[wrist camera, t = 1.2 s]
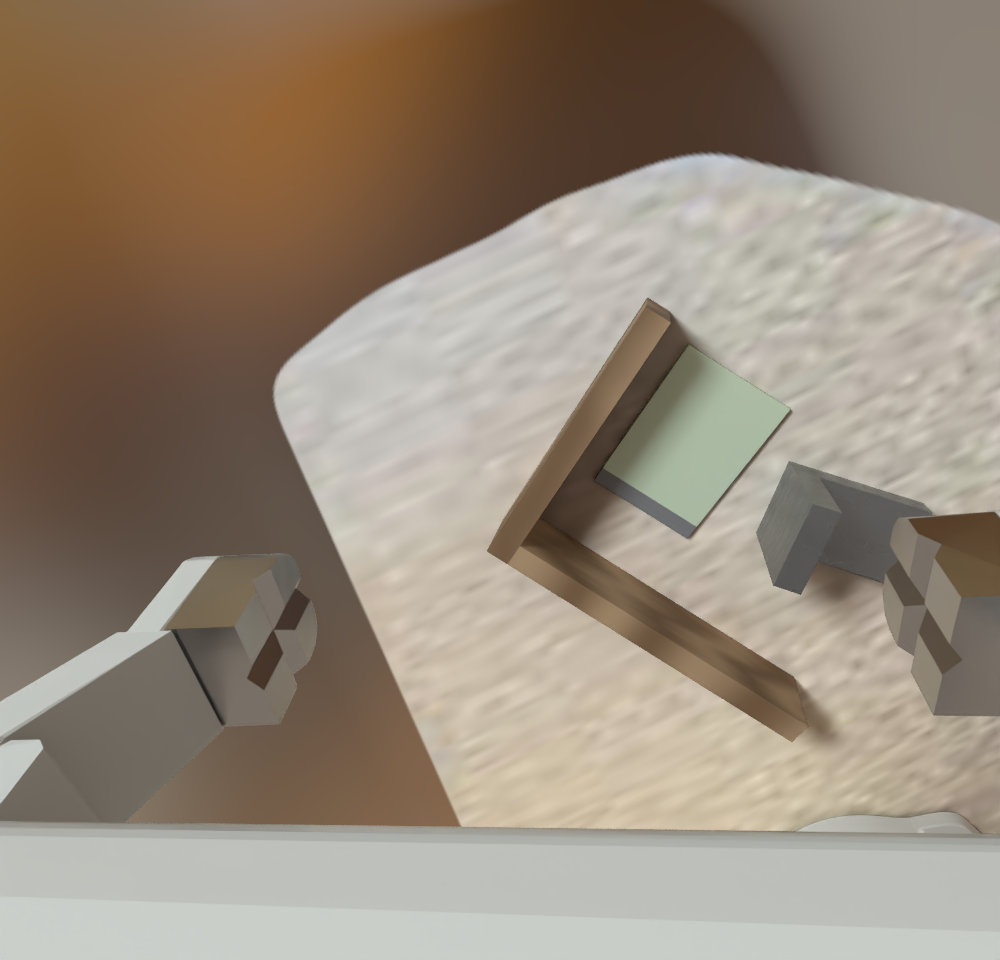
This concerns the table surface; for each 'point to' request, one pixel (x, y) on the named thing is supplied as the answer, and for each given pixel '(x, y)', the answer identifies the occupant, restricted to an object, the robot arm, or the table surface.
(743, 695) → the wooden corner frame
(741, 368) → the table surface
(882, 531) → the bracket
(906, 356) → the table surface
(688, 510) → the mat
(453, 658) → the table surface
